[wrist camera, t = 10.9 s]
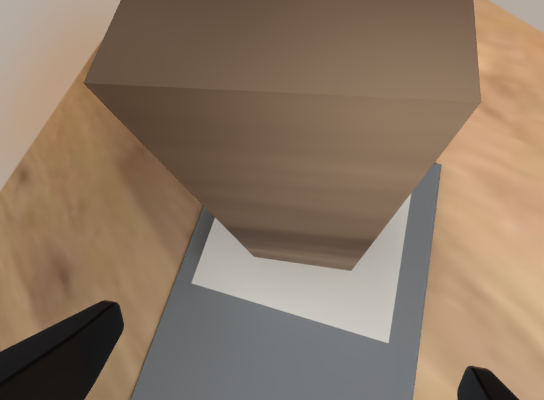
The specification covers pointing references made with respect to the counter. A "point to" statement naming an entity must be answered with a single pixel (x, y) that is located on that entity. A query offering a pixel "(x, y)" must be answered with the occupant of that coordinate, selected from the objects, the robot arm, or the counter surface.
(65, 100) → the counter surface
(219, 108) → the walnut pillar block
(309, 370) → the build board
